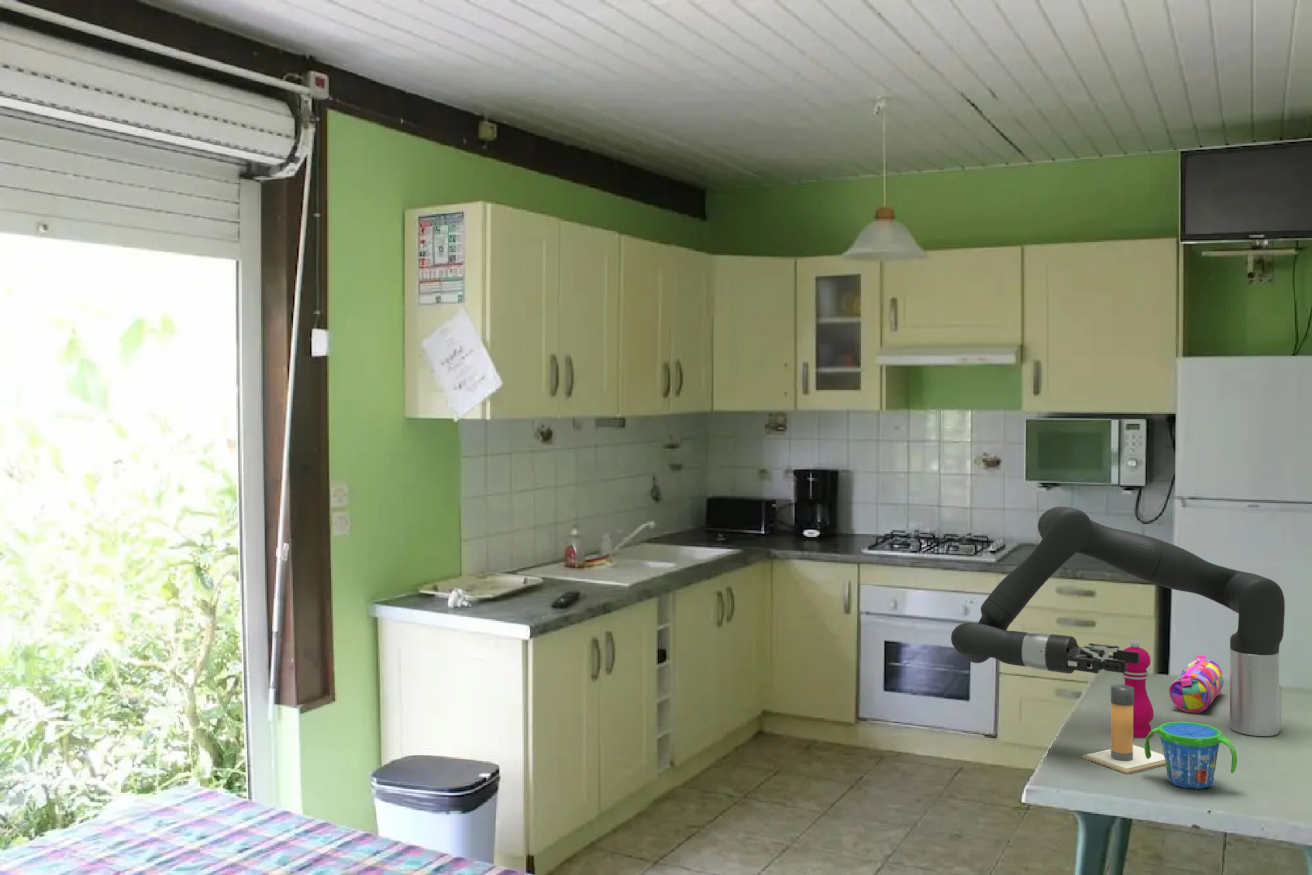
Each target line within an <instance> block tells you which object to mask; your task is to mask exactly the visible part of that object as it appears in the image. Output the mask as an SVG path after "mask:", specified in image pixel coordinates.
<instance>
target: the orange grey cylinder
mask: <svg viewBox="0 0 1312 875" xmlns="http://www.w3.org/2000/svg"><path fill="white" fill-rule="evenodd" d="M1110 704H1111V705H1110V707H1111V708H1110V711H1111V712H1110V713H1111V714H1110V715H1111V716H1110V718H1111V720H1110V749H1111V758H1113V759H1116V760H1120V761H1131V760H1133V745H1134V737H1133V704H1134V688H1133V687H1131V686H1128V685H1125V684H1112V685H1110Z"/></svg>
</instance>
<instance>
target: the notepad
mask: <svg viewBox="0 0 1312 875" xmlns="http://www.w3.org/2000/svg"><path fill="white" fill-rule="evenodd" d="M1144 748H1145V747H1141V746H1139V745H1135V744H1133V760H1131V761H1120V760H1116V759H1113V758H1111V748H1108V749H1104V750H1101V751H1100V750H1099V751H1096V752H1091V753H1086V754H1082V755H1081V759H1084V760H1087V761H1088V762H1089V761H1090V762H1092V761H1093V762H1092V763H1095V762H1096V763H1095V764H1097V763H1099V764H1098V765H1100V764H1101V766H1103V765H1105V766H1104V767H1106V766H1107V767H1106V768H1108V767H1110V768H1109V769H1111V768H1112V769H1111V770H1114V769H1115V771H1116V770H1118V771H1117V772H1119V771H1120V773H1122V772H1123V773H1122V774H1125V775H1129V774H1130V773H1131V774H1135V773H1139V772H1142V771H1141V770H1143V771H1147V769H1148V770H1151V769H1155V768H1159V766H1160V767H1163V766H1162V765H1164V766H1166V763H1165V757H1164V754H1161V753H1159V752H1156V751H1153V750H1150V752H1151V757H1150V758H1149V759H1147V758H1146V755H1145V749H1144ZM1138 771H1139V772H1138Z"/></svg>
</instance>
